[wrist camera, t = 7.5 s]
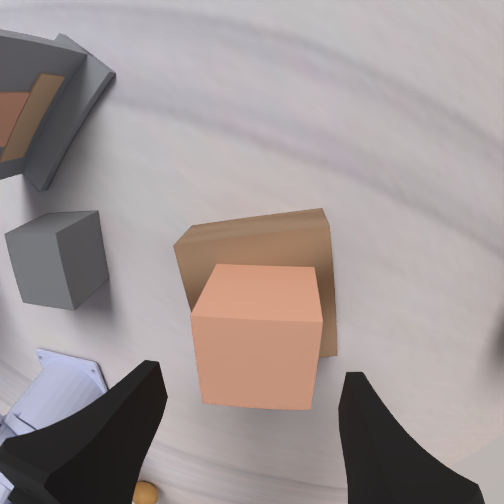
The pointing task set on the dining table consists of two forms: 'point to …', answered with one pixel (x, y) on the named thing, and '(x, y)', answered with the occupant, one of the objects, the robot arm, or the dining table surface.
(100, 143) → the dining table surface
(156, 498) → the figurine
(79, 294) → the charcoal cube
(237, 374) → the terracotta cube
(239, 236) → the walnut base block
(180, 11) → the dining table surface
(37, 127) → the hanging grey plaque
